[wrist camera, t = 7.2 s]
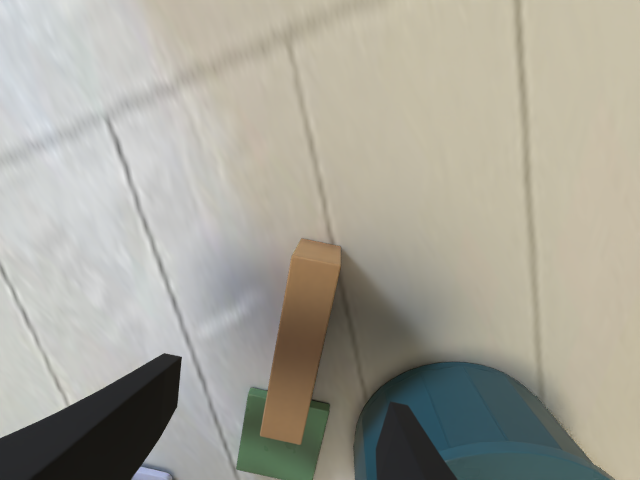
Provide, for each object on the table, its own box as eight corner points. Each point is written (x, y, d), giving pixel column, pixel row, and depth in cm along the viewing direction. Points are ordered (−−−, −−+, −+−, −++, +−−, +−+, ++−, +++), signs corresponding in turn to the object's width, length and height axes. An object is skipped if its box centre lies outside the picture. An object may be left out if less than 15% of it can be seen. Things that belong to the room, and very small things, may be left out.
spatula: (312, 477, 20) (306, 534, 17) (238, 461, 20) (220, 514, 17) (366, 251, 16) (373, 272, 13) (275, 232, 16) (260, 248, 13)
